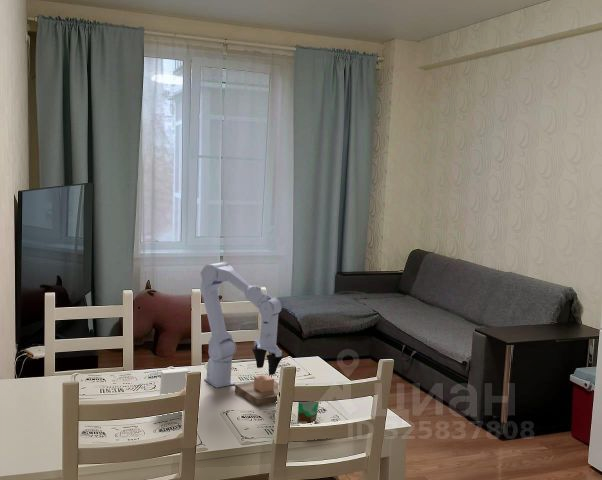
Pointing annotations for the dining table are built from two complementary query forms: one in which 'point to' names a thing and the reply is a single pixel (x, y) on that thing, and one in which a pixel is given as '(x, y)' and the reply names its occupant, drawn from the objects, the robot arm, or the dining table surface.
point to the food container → (307, 411)
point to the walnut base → (257, 394)
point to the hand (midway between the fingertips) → (265, 370)
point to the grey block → (173, 380)
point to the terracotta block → (263, 383)
